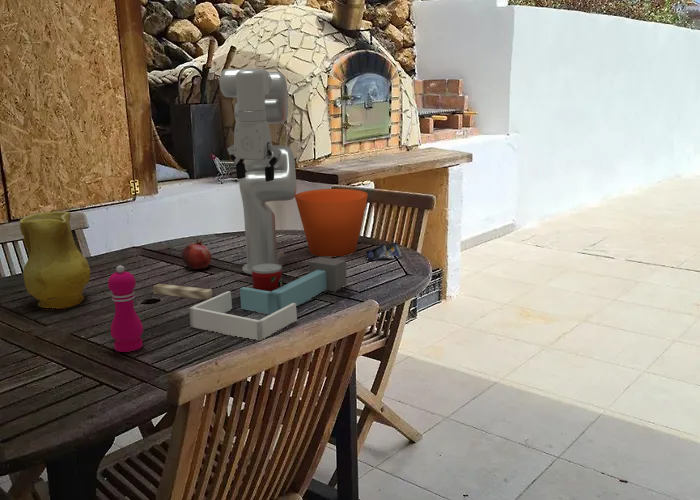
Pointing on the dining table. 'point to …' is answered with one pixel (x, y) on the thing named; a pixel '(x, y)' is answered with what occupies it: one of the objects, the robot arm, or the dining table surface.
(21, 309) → the dining table surface
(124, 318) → the pepper mill
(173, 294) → the stick
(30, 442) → the dining table surface
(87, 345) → the dining table surface
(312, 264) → the teal gray angled bar
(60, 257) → the pitcher
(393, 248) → the snack package
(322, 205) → the flowerpot
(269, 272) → the canned food
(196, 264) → the fruit
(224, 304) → the bay
